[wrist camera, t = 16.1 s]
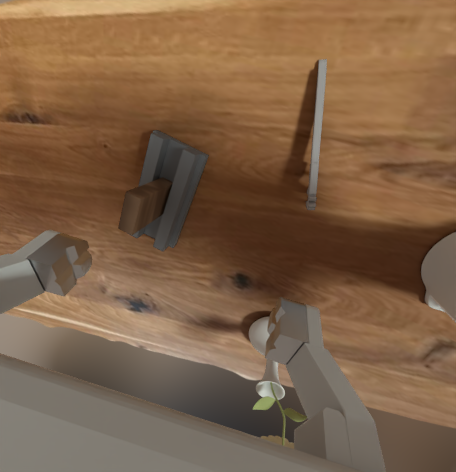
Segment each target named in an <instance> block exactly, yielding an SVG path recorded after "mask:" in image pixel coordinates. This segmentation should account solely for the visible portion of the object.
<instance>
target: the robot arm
mask: <svg viewBox="0 0 456 472" xmlns="http://www.w3.org/2000/svg"><path fill="white" fill-rule="evenodd" d="M88 248H89V245H88V242H87V241H85V240H82V239H79V238H76V237H73V236H70V235H67V234H64V233H60V232H57V231H54V230H47V231H45V232H43V233H42V234H40V235H39V236H38V237H36V238H35V239H33V240H32V241H31V242H29V243H28V244H26V245H25V246H24V247H22V248H21V249H19V250H18V251H16V252H15V253H14V254H5V255H2V256H0V314H2V313H4V312H6V311H8V310H10V309H12V308H14V307H16V306H18V305H20V304H22V303H24V302H26V301H28V300H30V299H32V298H34V297H36V296H38V295H40V294H42V293H44V291H47V292H50V293H54V294H57V295H61V296H65V295H66V294H67V293H68V292H69V291H70V290H71V289H72V288H73V287H74V286H75V285H76V281H77V278H80V277H82V276H84V275H85V274H86V273H87V272H88V271H89V269H90V267H91V264H92V257H91V254H90V253H89V252H88V251H87V249H88ZM421 276H422V280H423V282H424V285H425V287H426V294H425V302H426V304H427V305H428V306H430V307H431V308H434V309H437V310H440V311H444V312H446V313H447V314H448V315H449V316H450V317H451V318H452V319H453V320H454V321H455V322H456V232H454V233H452V234H450V235H448V236H447V237H445V238H443V239H442V240H440V241H439V242H438V243H437V244H436V245H434V246H433V247H432V248H431V250H430V251H429V252H428V253H427V255H426V257H425V259H424V261H423V263H422V267H421ZM267 332H268V333H269V335H270V336H269V338H268V339H267V341H266V351H265V358H266V359H269V360H272V361H275V362H278V363H281V364H284V365H286V368H287V370H288V373H289V375H290V377H291V380H292V382H293V385H294V387H295V389H296V392H297V394H298V397H299V399H300V401H301V404H302V406H303V409H304V411H305V413H306V416H307V418H308V421H306V422H305V423H303V424H302V425H301V426H299V427H298V428H297V429H295V430H294V449H292V448H289V447H286V446H283V445H280V444H277V443H274V442H271V441H268V440H265V439H262V438H258V437H255V436H252V435H249V434H246V433H243V432H240V431H237V430H234V429H231V428H228V427H224V426H222V425H219V424H216V423H212V422H209V421H206V420H203V419H200V418H197V417H194V416H191V415H188V414H185V413H181V412H179V411H175V410H172V409H169V408H166V407H163V406H160V405H157V404H154V403H151V402H148V401H145V400H142V399H139V398H136V397H133V396H129V395H126V394H123V393H120V392H117V391H114V390H111V389H108V388H105V387H102V386H98V385H96V384H92V383H90V382H86V381H83V380H80V379H77V378H74V377H71V376H68V375H65V374H61V373H59V372H56V371H53V370H50V369H46V368H43V367H40V366H37V365H34V364H31V363H28V362H25V361H22V360H19V359H16V358H12V357H10V356H6V355H4V354H0V472H386V470H385V465H384V461H383V457H382V452H381V448H380V443H379V439H378V434H377V430H376V425H375V421H374V420H373V418H372V417H371V415H370V414H369V412H368V410H367V409H366V407H365V406H364V404H363V403H362V401H361V400H360V398H359V397H358V395H357V394H356V392H355V391H354V389H353V388H352V386H351V384H350V383H349V381H348V380H347V378H346V377H345V375H344V374H343V372H342V371H341V369H340V368H339V366H338V365H337V363H336V362H335V360H334V359H333V357H332V356H331V354H330V352H329V351H328V350H327V349H324V346H323V338H322V329H321V320H320V311H319V309H318V308H317V307H313V306H310V305H306V304H304V303H300V302H296V301H293V300H289V299H286V298H282V297H280V298H278V300H277V302H276V308H273V310H272V312H271V314H270V317H269V321H268V328H267Z"/></svg>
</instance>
